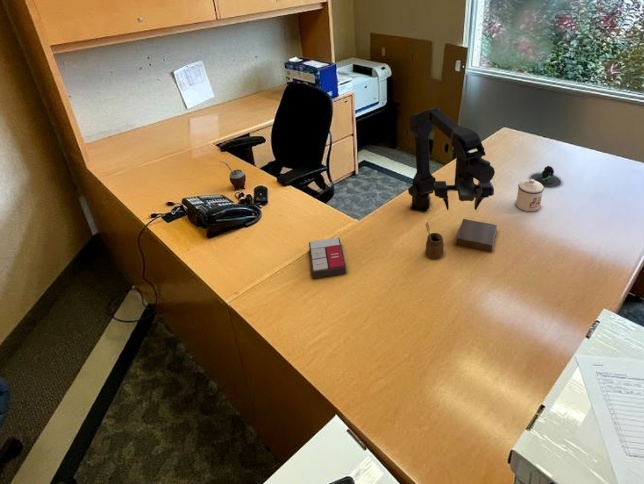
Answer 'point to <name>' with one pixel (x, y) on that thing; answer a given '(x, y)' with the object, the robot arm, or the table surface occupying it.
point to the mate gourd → (237, 178)
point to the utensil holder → (434, 244)
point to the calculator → (327, 258)
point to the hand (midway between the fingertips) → (461, 209)
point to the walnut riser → (476, 235)
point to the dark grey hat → (547, 178)
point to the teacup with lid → (529, 195)
